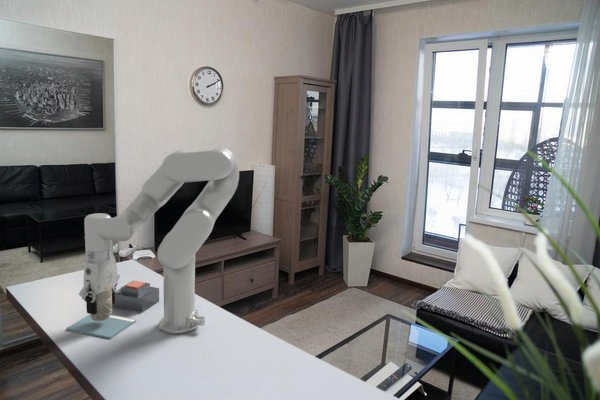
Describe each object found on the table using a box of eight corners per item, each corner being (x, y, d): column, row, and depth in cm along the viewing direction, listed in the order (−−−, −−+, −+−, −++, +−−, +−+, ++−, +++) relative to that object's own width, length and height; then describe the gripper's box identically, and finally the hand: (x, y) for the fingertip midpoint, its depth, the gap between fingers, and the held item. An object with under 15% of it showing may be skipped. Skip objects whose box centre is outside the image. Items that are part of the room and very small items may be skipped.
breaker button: (145, 288, 153) (145, 282, 152) (137, 292, 148) (137, 287, 148) (134, 286, 154) (134, 280, 153) (125, 290, 149) (125, 285, 149)
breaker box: (159, 301, 155) (159, 282, 154) (142, 312, 146) (141, 293, 144) (130, 296, 158) (130, 278, 157) (112, 307, 149) (111, 288, 147)
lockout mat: (136, 321, 140) (136, 319, 139) (110, 339, 128) (110, 336, 128) (94, 313, 144) (94, 311, 143) (66, 329, 132) (66, 327, 132)
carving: (87, 323, 131) (85, 286, 129) (93, 312, 138) (92, 277, 136) (109, 322, 132) (108, 286, 130) (114, 312, 140) (113, 277, 137)
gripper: (88, 264, 122) (91, 322, 126) (128, 247, 139) (129, 299, 142) (67, 261, 124) (69, 317, 127) (108, 245, 141) (110, 295, 144)
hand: (101, 307), depth 135 cm, fingers closed on carving, 7 cm apart
